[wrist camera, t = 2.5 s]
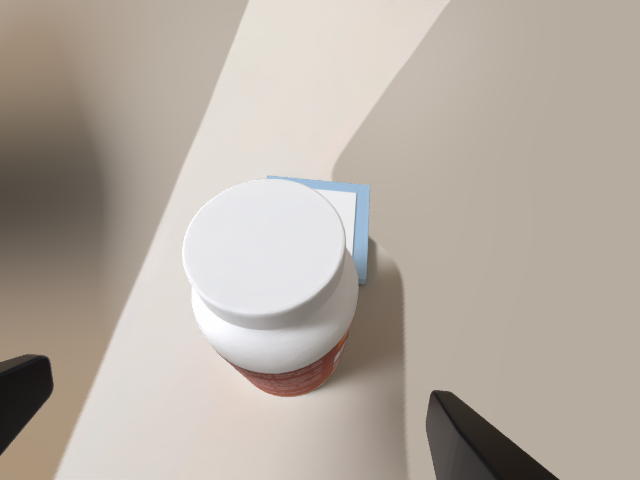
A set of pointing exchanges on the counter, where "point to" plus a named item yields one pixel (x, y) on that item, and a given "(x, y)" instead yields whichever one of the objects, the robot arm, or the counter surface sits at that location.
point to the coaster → (347, 215)
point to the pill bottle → (272, 283)
